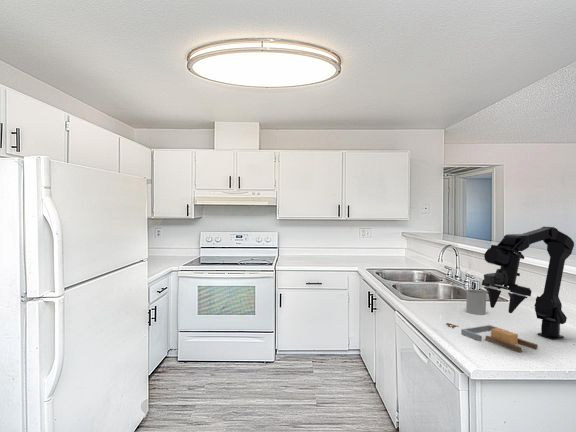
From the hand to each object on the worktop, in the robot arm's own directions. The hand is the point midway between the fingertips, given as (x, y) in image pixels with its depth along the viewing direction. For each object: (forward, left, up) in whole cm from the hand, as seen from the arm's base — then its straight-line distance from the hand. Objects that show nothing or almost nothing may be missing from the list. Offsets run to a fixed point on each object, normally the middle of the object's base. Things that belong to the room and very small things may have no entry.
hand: (500, 310), depth 150 cm
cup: (-29, -36, -13) cm, 48 cm away
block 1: (-4, -4, -13) cm, 14 cm away
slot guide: (-4, +1, -13) cm, 13 cm away
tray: (-4, -9, -13) cm, 16 cm away
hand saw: (-1, -33, -13) cm, 36 cm away
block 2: (-4, +1, -13) cm, 13 cm away
